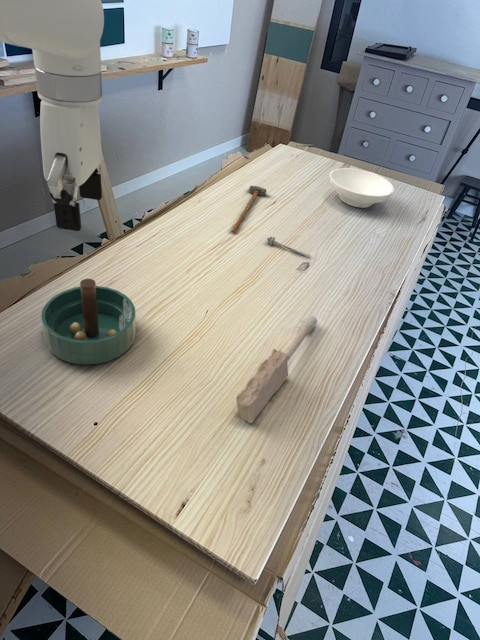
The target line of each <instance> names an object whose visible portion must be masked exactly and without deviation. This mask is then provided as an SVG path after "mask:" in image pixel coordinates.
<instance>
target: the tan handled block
mask: <svg viewBox="0 0 480 640" xmlns="http://www.w3.org/2000/svg"><path fill="white" fill-rule="evenodd" d="M317 324H318V319H317V318H316V316H313V315H311V316H310V315H309V316H307V317H306V319H305V320H304V321H303V323H302V327H301V328H300V330H298V333H297V334H296V335H295V337H294V338H293V340H292V342H291V343H290V345H289V346H288V347H287V349H286V350H285V352H283V351H281V350H276V348H273V349H272V351H271V354H270V355H269V356H268V358H267V359H264V361H262V362H261V363H260V364H259V366H258V367H257V370H256V372H255V374H254V376H253V377H251V378H250V379H249V380H248V381H247V383H246V385H245V388H244V389H242V390H241V391H240V393H239V394H237V396H236V405H237V411H238V413H239V416H240V418H241V419H242V420H244V421H246V422H247V423H249V424H253V423H254V421H255V420H256V418H257V417H258V416H259V414H260V413H261V411H263V409H264V407H266V405H267V403H268V402H269V401H270V400H271V398H272V397H273V396H274V394H276V393H277V392H278V390H279V389H280V388H281V386H282V385H283V383H284V382H285V381H286V380H287V378H288V376H289V371H288V370H289V369H288V361H289V360H290V359H291V357H292V356H293V355H294V353H295V351H296V350H297V349H298V347H299V346H300V344H302V341H304V339H305V338H306V336H307V335H308V333H309V332H311V331H313V330H314V328H315V327H316V325H317Z"/></svg>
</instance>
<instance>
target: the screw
mask: <svg viewBox="0 0 480 640" xmlns="http://www.w3.org/2000/svg"><path fill="white" fill-rule="evenodd" d="M275 239H276V237H274V236H271V235H270V237H267V238H266V241H267V244H269V245H270V246H271V245H273V244H277V245H278V246H281V247H283V248H286V249H288V250H290V251H292V252H294V253H297V254H299V255H301V256H303V257H306V258H309V255H308V254H305V253H303V252H301V251H298V250H296V249H294V248H291V247H289V246H287V245H285V244H282V243H280V242H278V241H275Z"/></svg>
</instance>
